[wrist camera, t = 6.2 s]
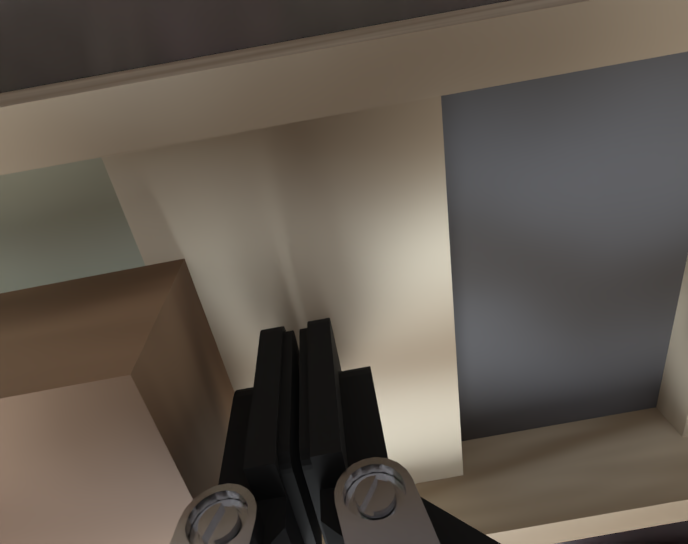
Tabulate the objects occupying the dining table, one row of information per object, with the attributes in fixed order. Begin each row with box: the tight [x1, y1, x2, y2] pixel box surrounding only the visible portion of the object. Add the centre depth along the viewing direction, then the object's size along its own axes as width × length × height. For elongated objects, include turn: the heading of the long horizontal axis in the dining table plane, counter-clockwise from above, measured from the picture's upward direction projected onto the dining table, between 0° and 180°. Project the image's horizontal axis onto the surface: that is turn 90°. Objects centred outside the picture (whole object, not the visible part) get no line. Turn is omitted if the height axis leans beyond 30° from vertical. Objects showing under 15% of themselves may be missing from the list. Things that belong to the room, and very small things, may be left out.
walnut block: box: [0, 259, 234, 544], centre depth 11 cm, size 6×6×4 cm
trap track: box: [0, 0, 688, 544], centre depth 12 cm, size 14×32×4 cm, turn 99°
